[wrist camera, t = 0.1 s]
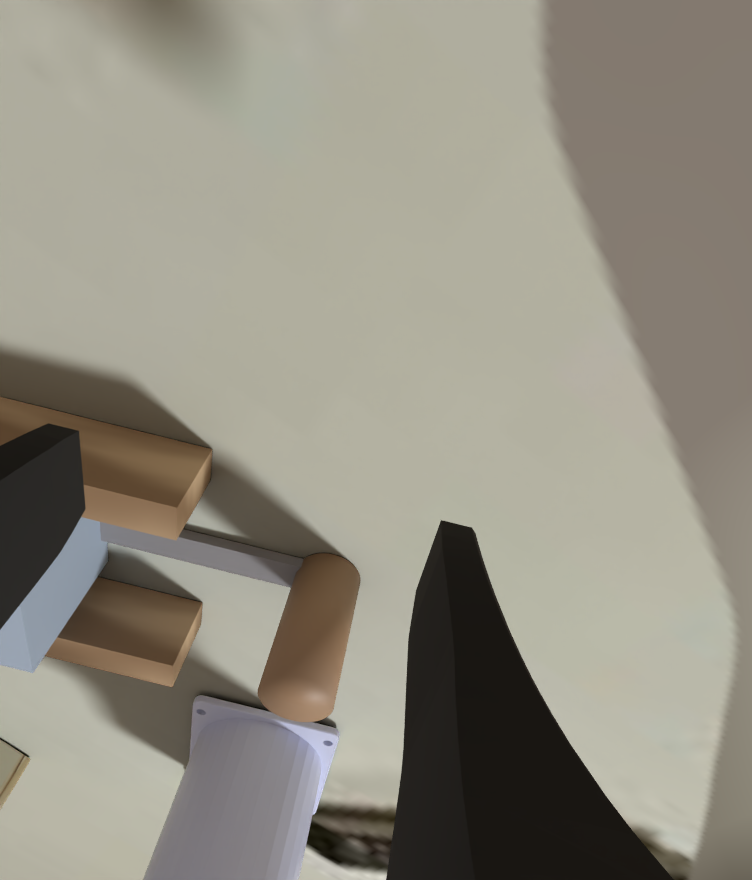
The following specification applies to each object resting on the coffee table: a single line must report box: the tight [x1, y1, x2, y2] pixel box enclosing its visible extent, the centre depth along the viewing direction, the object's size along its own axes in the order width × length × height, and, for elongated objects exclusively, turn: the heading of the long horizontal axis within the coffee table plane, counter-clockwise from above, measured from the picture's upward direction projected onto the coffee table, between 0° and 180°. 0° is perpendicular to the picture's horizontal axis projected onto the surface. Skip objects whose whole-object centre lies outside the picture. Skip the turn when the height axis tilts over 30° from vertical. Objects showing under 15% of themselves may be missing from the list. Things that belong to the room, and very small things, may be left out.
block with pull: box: [0, 517, 360, 722], centre depth 25 cm, size 5×16×6 cm, turn 79°
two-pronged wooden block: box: [0, 397, 212, 687], centre depth 26 cm, size 11×13×4 cm
